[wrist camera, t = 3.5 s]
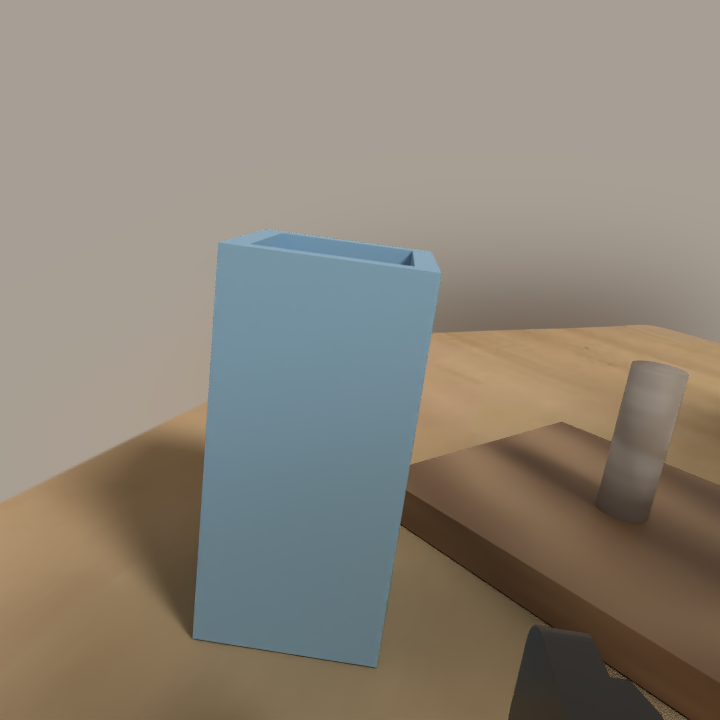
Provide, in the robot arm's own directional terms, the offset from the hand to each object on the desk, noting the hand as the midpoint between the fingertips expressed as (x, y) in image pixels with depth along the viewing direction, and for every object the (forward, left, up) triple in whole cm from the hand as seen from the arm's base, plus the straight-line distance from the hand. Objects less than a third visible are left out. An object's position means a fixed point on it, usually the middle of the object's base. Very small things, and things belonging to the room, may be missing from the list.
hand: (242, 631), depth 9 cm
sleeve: (-7, -7, -6) cm, 11 cm away
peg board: (-20, -3, -6) cm, 21 cm away
